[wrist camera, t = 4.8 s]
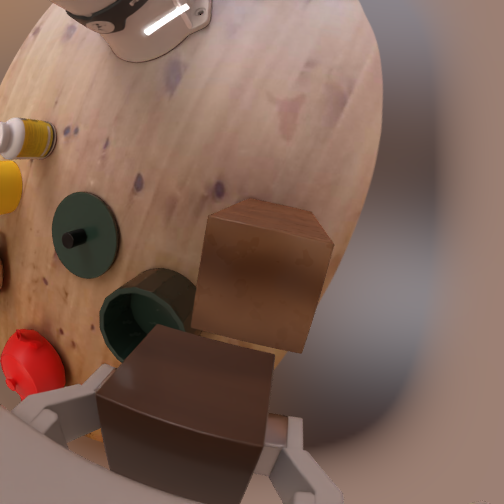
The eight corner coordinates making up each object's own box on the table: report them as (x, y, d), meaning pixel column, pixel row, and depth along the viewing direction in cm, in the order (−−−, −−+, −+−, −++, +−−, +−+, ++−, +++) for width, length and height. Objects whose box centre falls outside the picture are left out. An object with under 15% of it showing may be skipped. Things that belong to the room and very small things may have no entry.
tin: (131, 259, 42) (99, 276, 34) (211, 280, 41) (193, 304, 33) (127, 331, 45) (100, 357, 37) (199, 354, 44) (182, 387, 36)
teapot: (68, 408, 53) (40, 439, 41) (20, 369, 53) (-10, 393, 41) (80, 332, 47) (39, 365, 35) (24, 287, 47) (-19, 309, 35)
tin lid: (59, 186, 41) (40, 188, 37) (125, 198, 40) (107, 201, 36) (55, 265, 45) (38, 272, 40) (117, 286, 44) (101, 296, 39)
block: (156, 322, 11) (93, 393, 7) (275, 353, 11) (264, 447, 6) (153, 406, 12) (110, 476, 8) (251, 433, 12) (234, 516, 7)
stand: (249, 197, 38) (207, 215, 19) (311, 211, 38) (334, 243, 18) (237, 258, 40) (190, 327, 21) (297, 272, 40) (301, 354, 20)
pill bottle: (61, 122, 39) (10, 114, 28) (53, 161, 40) (2, 161, 29) (37, 121, 39) (-11, 115, 28) (30, 157, 41) (-19, 158, 30)
